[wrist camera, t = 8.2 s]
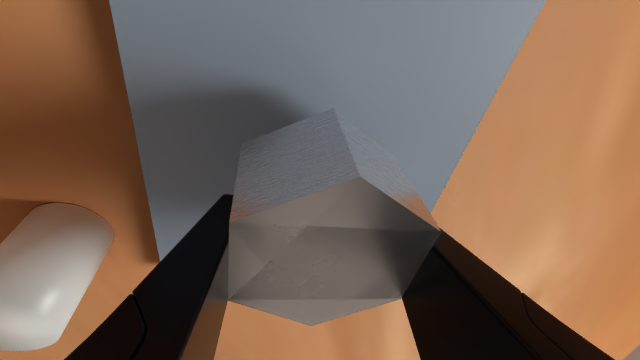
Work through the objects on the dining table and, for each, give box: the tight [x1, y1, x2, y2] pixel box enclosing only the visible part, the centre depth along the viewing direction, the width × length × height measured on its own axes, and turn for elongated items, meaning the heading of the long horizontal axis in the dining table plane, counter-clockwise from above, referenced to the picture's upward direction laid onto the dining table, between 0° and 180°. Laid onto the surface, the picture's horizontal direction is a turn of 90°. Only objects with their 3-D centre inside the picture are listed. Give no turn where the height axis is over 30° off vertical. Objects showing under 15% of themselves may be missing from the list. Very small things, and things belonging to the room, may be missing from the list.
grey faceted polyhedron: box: [228, 108, 441, 326], centre depth 8 cm, size 5×4×3 cm
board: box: [109, 0, 546, 261], centre depth 11 cm, size 14×11×1 cm
